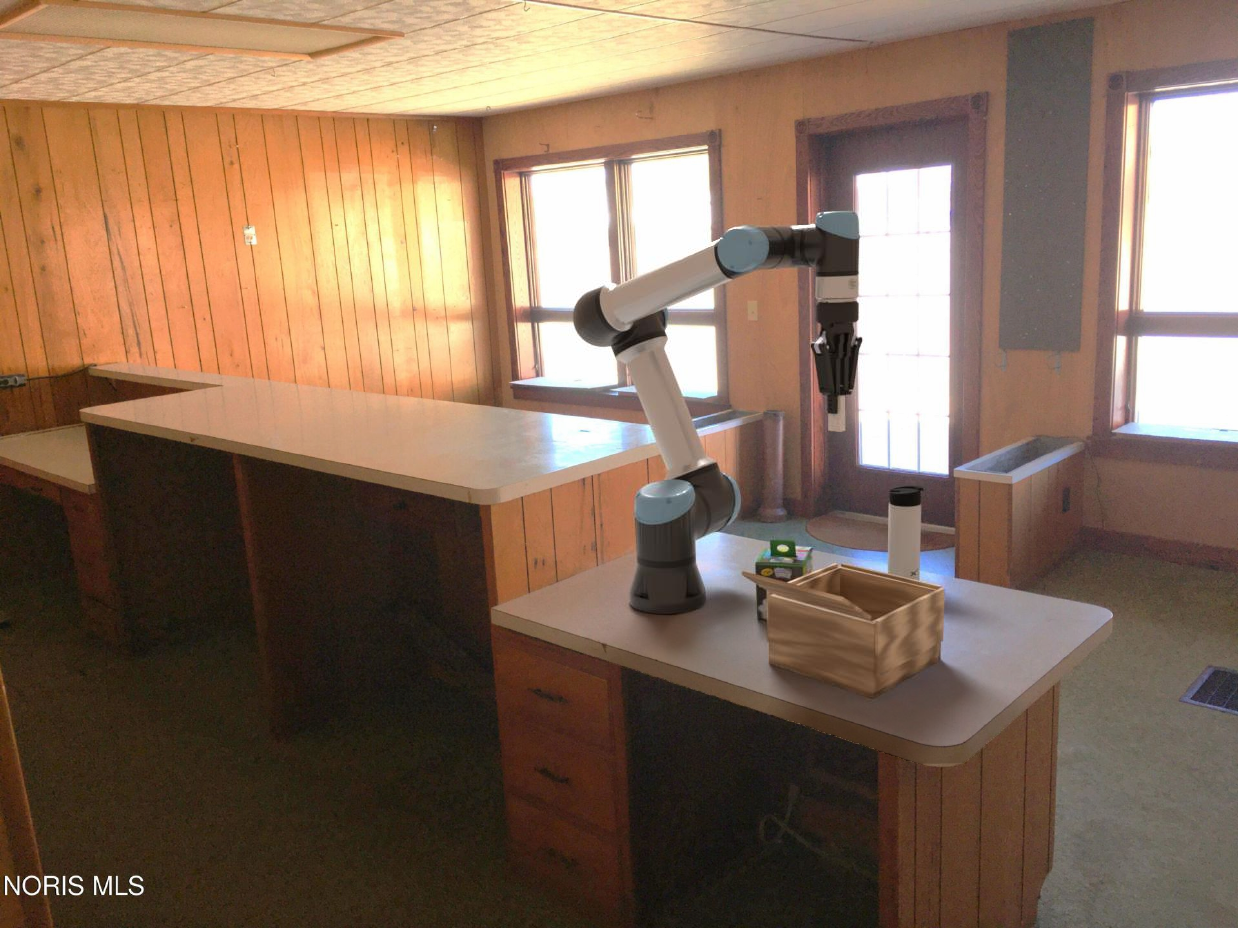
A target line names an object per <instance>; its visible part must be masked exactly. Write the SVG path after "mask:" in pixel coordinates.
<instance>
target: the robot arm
mask: <svg viewBox="0 0 1238 928" xmlns="http://www.w3.org/2000/svg"><path fill="white" fill-rule="evenodd" d="M814 220H815V221H814V223H811V224H801V225H798V224H796V225H761V226H760V225H749V224H748V225H745V224H744V225H740V226H735V227H732V228H729V229H728V230H726V231H725V232H724V233H723V235H721V237H720V238H719V239H717V240H714V241H712V242H710V243H708V244H705V245H703V246H701V247H699V248H696V249H694V250H692V251H690V252H688V253H686V254H683V255H680V256H679V257H676V258H674V259H672V260H670V261H668V262H666V263H664V264H661V265H659V266H657V267H654V268H652V269H650V270H648V271H646V272H643V273H642V274H641V273H640V274H639V275H637V276H635V277H633V278H631V279H628V280H626V281H623V282H621V283H619V284H617V283H614V282H608V283H606V284H603V285H602V286H599V287H597V288H594V289H592V290H590V291H587V292H585V293H584V294H582V295H581V297H580V298H579V299H578V300H577V302H576V303H575V305H574V307H573V312H572V323H573V326H574V329H575V331H576V334H577V335H578V336H579V337H580V338H581V339H582V340H583V341H584V342H586V343H587V344H589V345H591V346H593V347H598V348H606V347H607V348H608V347H610V348H611V350H612V352H613V355H614V357H615V360H616V361H618V362H621V363H623V364H624V365H625V366H626V368H627V371H628V374H629V376H630V379H631V381H632V383H633V386H634V388H635V392H636V393H637V396H638V399H639V401H640V404H641V407H642V410H643V412H644V414H645V417H646V419H647V422H648V424H649V427H650V430H651V431H652V435H653V437H654V440H655V442H656V445H657V448H658V450H659V452H660V455H661V458H662V460H663V462H664V465H665V467H666V471H667V472H666V475H665V478H664V479H663V480H661V481H653V482H650V483H647V484H645V485H644V486H642V487H641V488H639V490H637V492H636V494H635V495H634V496H635V497H634V508H633V515H634V521H635V522H634V523H635V525H634V526H635V544H636V545H635V547H636V550H635V551H636V567H635V570H634V574H633V577H632V580H631V584H630V588H629V593H628V594H629V595H628V596H629V598H628V599H629V605H630V606H631V607H632V608H633V609H635V610H637V611H640V612H642V613H643V612H644V613H648V614H656V615H657V614H658V615H671V614H673V615H674V614H683V613H688V612H691V611H694V610H697V609H699V608H701V607H702V606H704V605H705V604H706V601H707V595H706V594H707V589H706V586H705V584H704V581H703V578H702V576H701V572H700V569H699V567H698V564H697V551H696V548H697V547H696V546H697V545H696V542H697V540H701V539H702V538H705V537H707V536H709V535H711V534H714V533H717V532H719V531H722V530H724V529H725V528H726V527H728V526H729V525H730V524H732V523H733V521H735V520H736V518H737V517H738V515H739V512H740V509H741V506H742V505H741V502H742V497H741V495H742V494H741V492H740V488H739V485H738V484H737V482H736V481H735V479H733V477H732V476H730V475H728V474H727V473H725V472H724V471H723V472H721V469H720V466H719V464H718V461H717V460H715V459H714V458H712V457H710V456H708V455H707V453H706V452H705V448H704V446H703V444H702V441H701V439H700V436H699V433H698V431H697V428H696V426H695V423H694V421H693V418H692V416H691V413H690V410H689V408H688V406H687V403H686V401H685V398H684V396H683V393H682V391H681V388H680V385H679V383H678V379H677V377H676V376H675V373H674V370H673V368H672V366H671V362H670V359H669V358H668V354H667V353H666V350H665V347H666V345H667V342H668V340H669V337H668V335H667V333H666V329H667V327H668V323H667V322H668V321H669V311H668V310H669V309H668V308H669V307H671V306H674V305H676V304H679V303H681V302H683V301H685V300H689V299H691V298H693V297H696V296H698V295H700V294H702V293H704V292H707V291H709V290H711V289H714V288H716V287H718V286H720V285H724V284H726V283H728V282H730V281H733V280H735V279H739V278H741V277H744V276H746V275H748V274H751V273H754V272H757V271H763V270H777V269H778V270H780V269H795V268H814V269H815V290H814V291H815V293H814V295H815V296H814V297H815V299H816V300H818V301H817V302H816V304H815V322H816V323H818V324H820V329H819V330H820V331H819V333H818V335H819V337H818V339H817V341H812V342H811V343H810V349H811V351H812V353H813V357H814V364H815V370H816V377H817V385H818V389H819V390H818V391H819V393H820V394H821V395H822V396H826V397H827V401H826V402H827V407H826V408H827V410H826V411H827V430H828V431H829V432H837V433H839V432H840V433H842V432H846V409H847V407H846V406H847V396H851V395H852V392H853V391H852V390H854V388H855V383H856V375H857V367H858V361H859V354H860V348H861V347H862V343H863V337H862V336H857V335H856V334H855V328H854V323H858V321H859V318H860V317H859V316H860V315H859V314H860V313H859V309H860V304H859V302H858V301H857V300H856V299H857V298H858V297H860V296H859V295H860V294H859V289H860V288H859V285H860V282H859V275H860V270H859V268H860V267H859V265H860V240H861V235H860V222H859V221H860V220H859V215H858V213H856V212H855V211H853V210H841V211H838V210H836V211H824V212H823V211H822V212H821V211H820V212H818V213H817V214H816V216H815V219H814Z"/></svg>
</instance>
